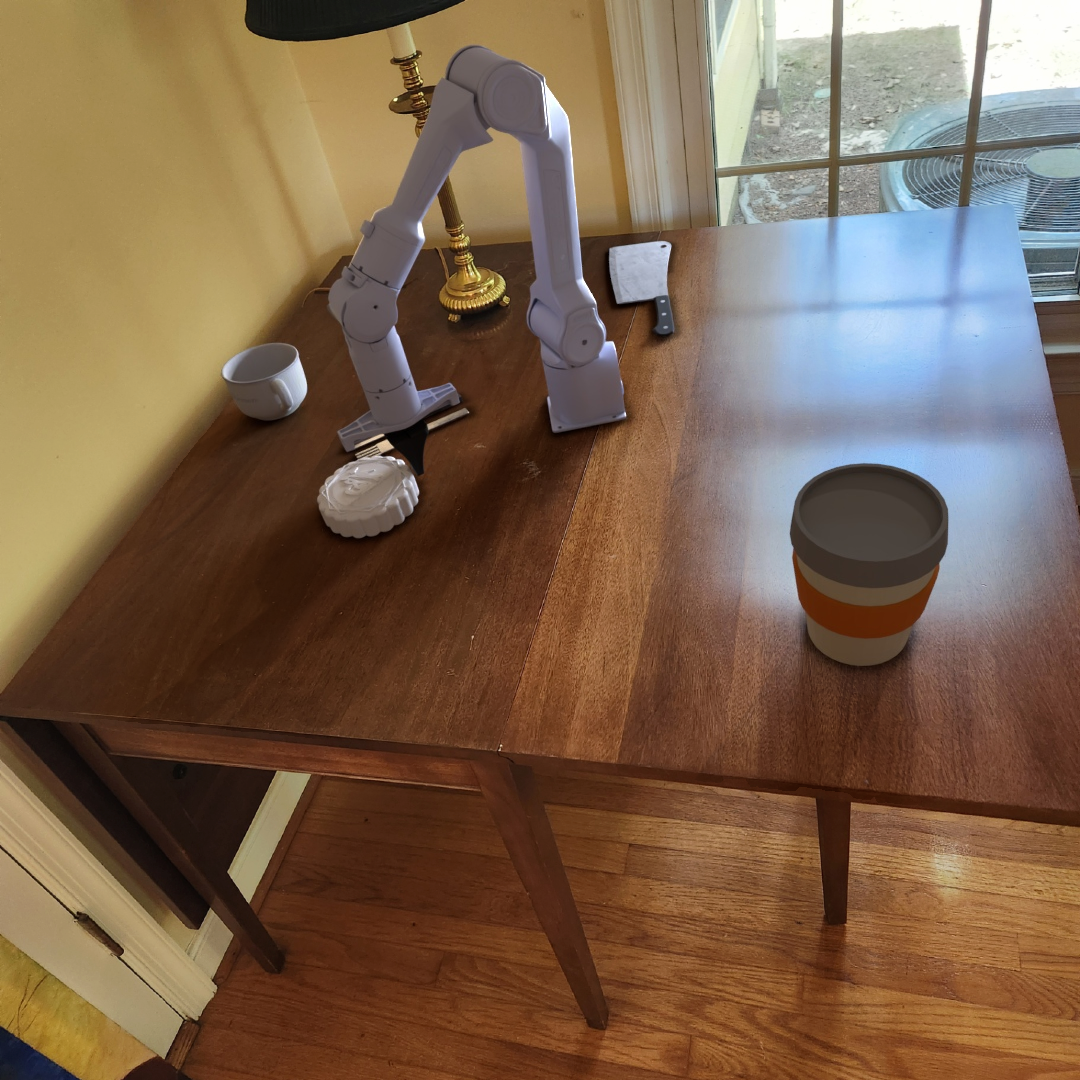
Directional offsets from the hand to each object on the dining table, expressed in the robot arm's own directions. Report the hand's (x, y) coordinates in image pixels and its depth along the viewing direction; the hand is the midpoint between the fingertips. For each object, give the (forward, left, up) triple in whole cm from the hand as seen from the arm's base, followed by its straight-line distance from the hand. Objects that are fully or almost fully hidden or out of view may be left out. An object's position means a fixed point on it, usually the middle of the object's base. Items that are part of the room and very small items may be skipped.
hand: (418, 471), depth 110 cm
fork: (+1, -10, -2) cm, 11 cm away
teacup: (+21, -22, -2) cm, 31 cm away
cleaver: (-34, -36, -2) cm, 50 cm away
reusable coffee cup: (-42, +35, -2) cm, 54 cm away
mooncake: (+6, +3, -2) cm, 7 cm away
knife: (+3, -13, -2) cm, 14 cm away
